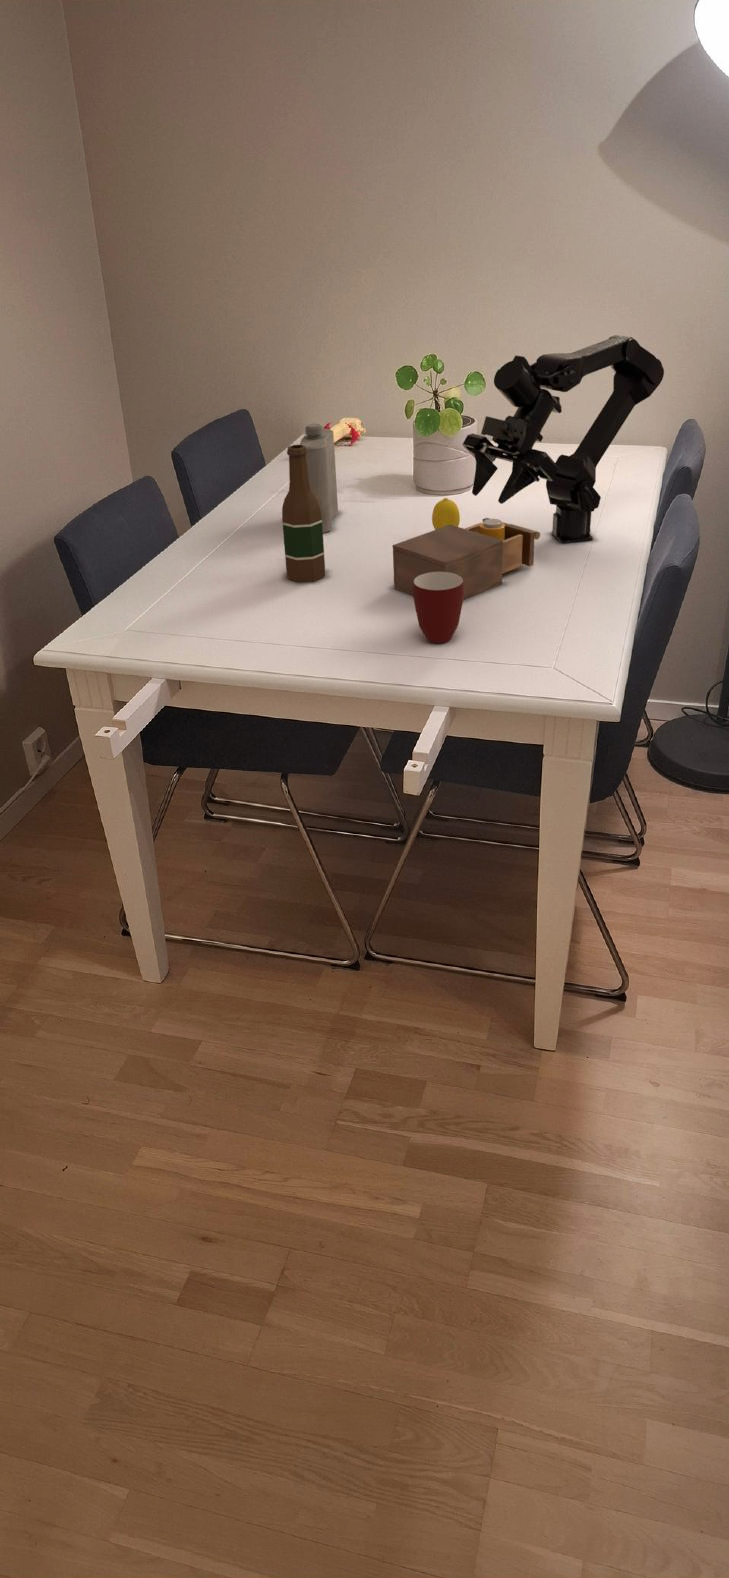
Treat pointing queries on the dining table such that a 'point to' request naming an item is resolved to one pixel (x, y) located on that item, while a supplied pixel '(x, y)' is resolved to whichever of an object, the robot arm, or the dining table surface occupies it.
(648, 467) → the dining table surface
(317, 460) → the flask
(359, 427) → the meaty bone
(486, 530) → the yellow jar
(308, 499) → the beer bottle
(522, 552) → the drawer
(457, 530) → the cabinet
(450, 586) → the mug
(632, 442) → the dining table surface
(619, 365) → the robot arm
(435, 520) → the lemon
